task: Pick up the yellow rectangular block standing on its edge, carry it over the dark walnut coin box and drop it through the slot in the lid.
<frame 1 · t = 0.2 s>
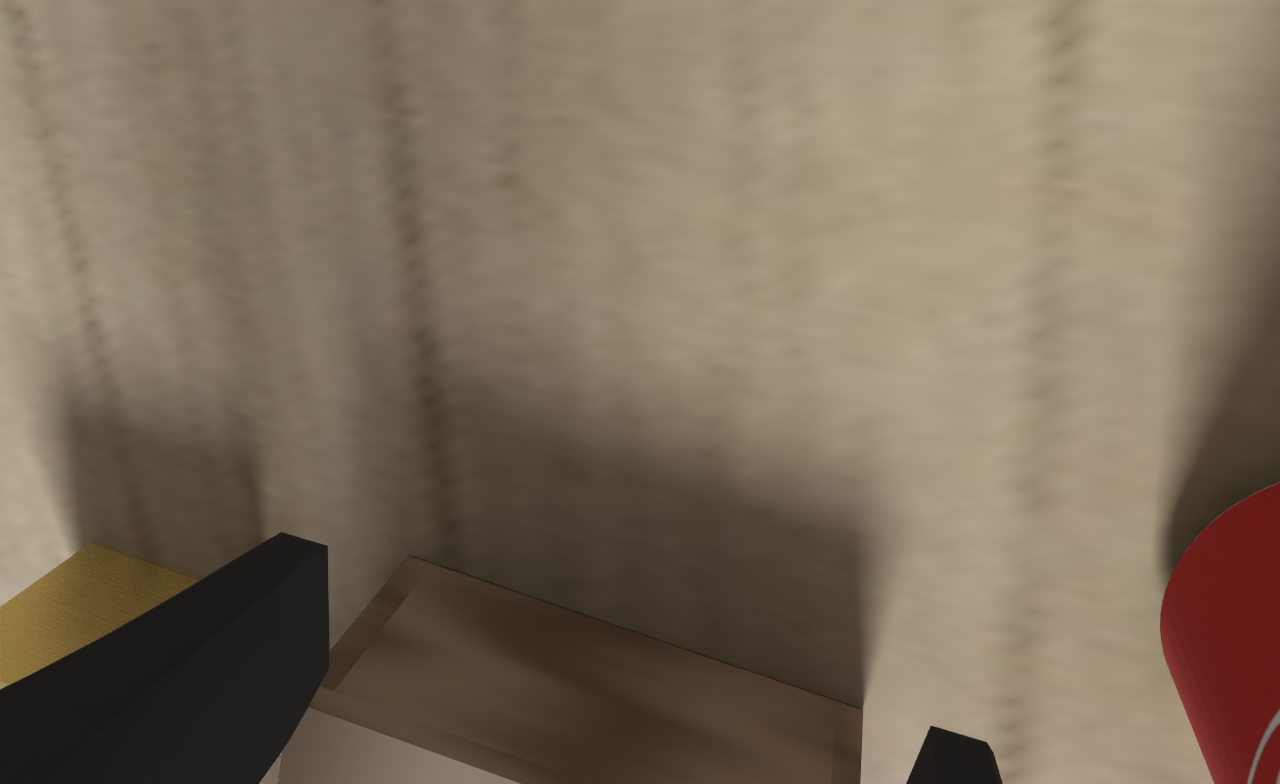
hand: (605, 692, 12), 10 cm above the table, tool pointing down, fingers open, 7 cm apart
coin box: (588, 776, 26), on the table
yellow rectangular block: (178, 604, 27), on the table
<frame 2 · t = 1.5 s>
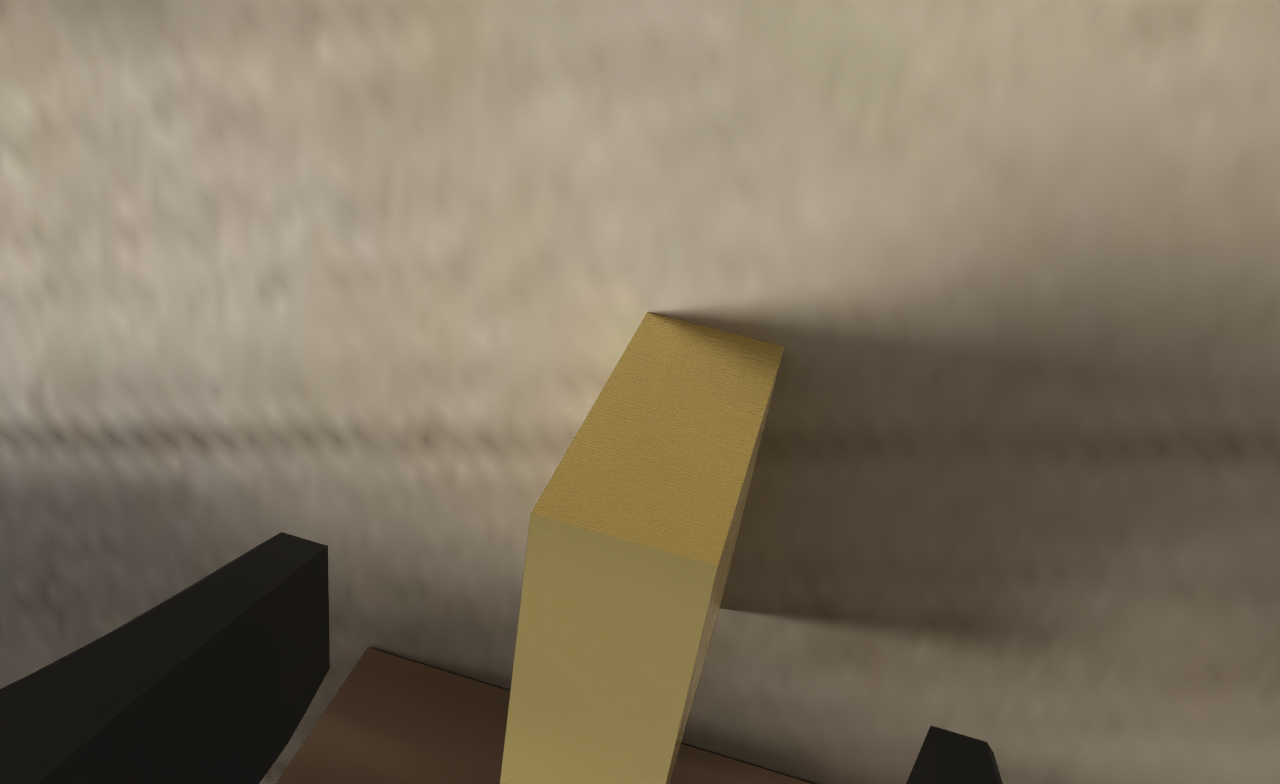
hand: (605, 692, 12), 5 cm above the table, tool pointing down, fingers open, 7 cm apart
yellow rectangular block: (686, 469, 16), on the table
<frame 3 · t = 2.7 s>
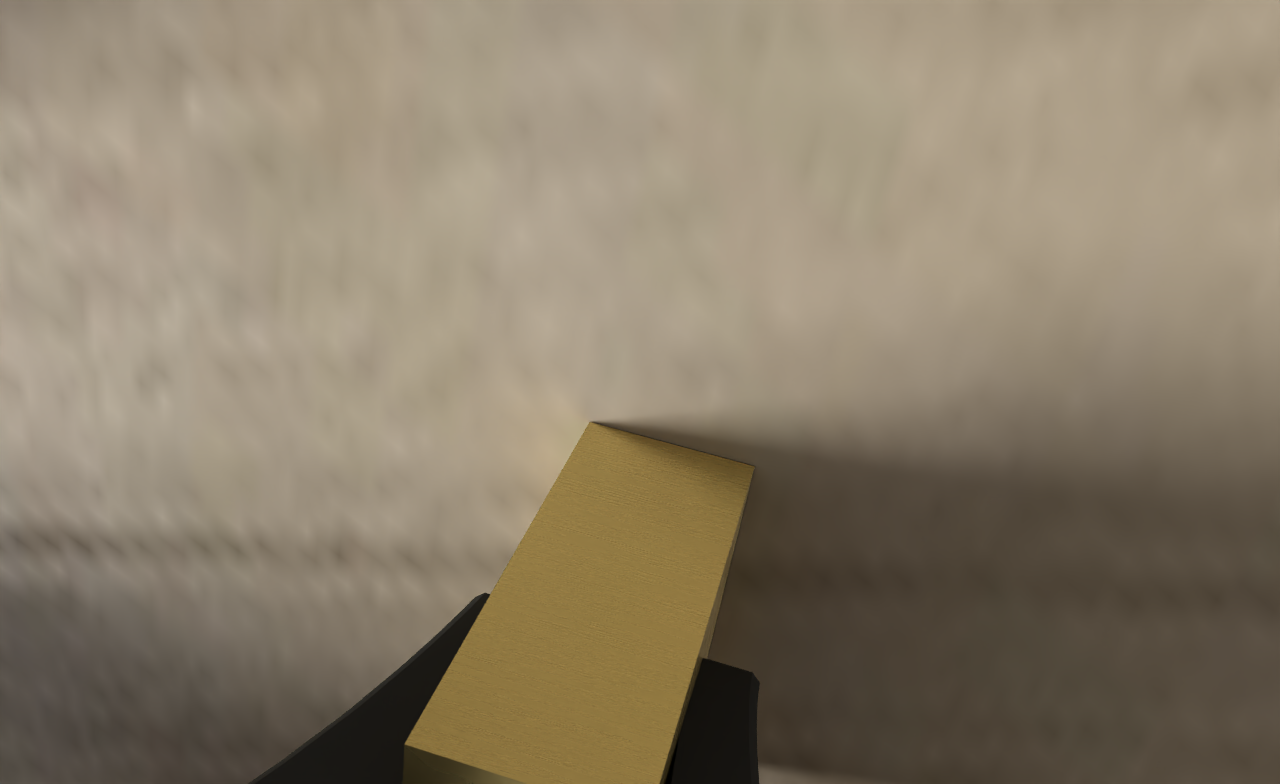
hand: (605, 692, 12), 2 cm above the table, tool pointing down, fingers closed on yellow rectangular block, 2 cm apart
yellow rectangular block: (640, 601, 14), on the table, touching gripper
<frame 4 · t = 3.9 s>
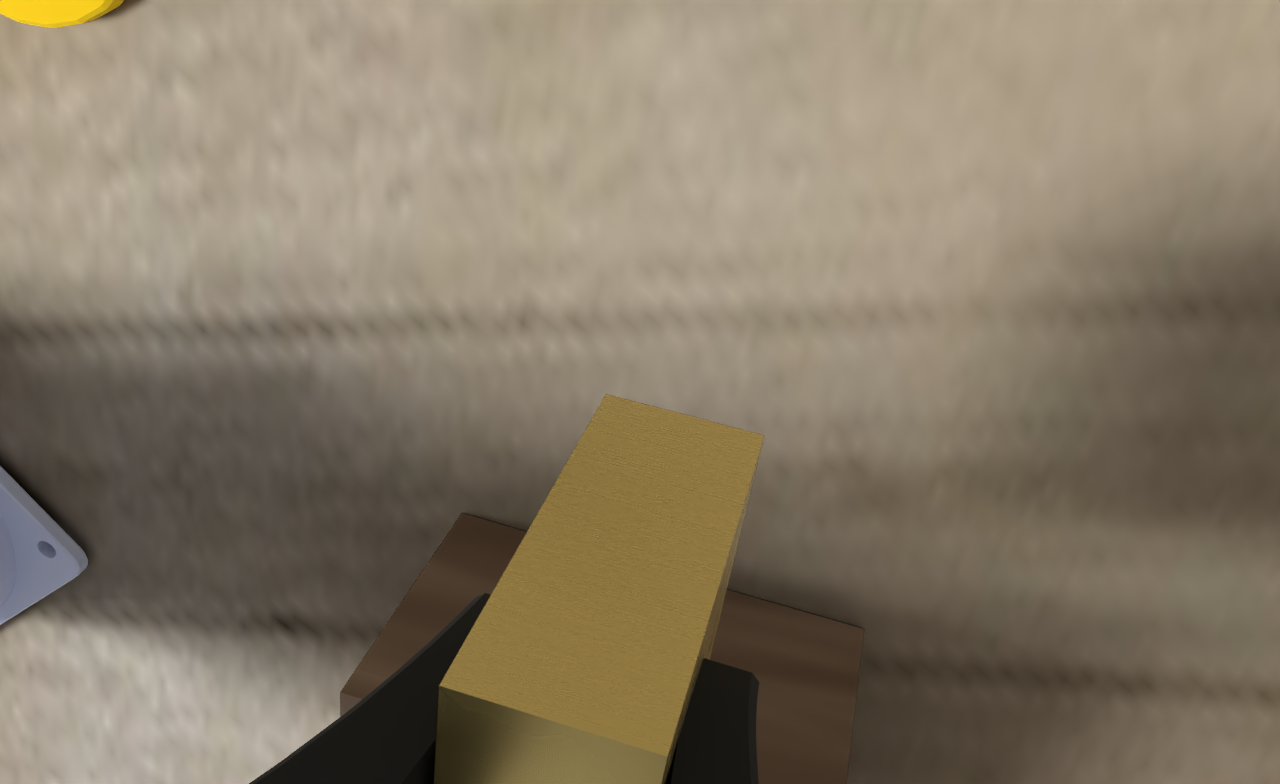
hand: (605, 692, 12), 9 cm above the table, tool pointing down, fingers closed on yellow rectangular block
coin box: (623, 740, 26), on the table
yellow rectangular block: (654, 568, 14), point 7 cm above the table, touching gripper
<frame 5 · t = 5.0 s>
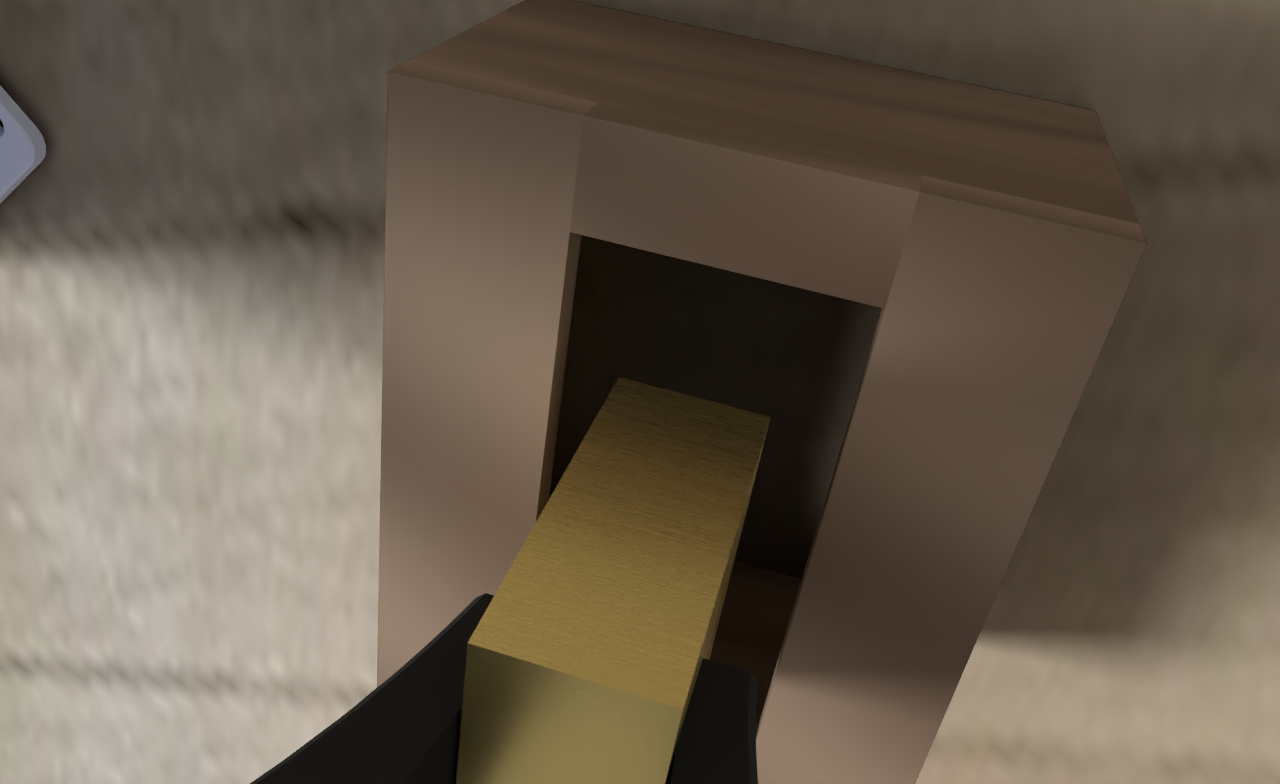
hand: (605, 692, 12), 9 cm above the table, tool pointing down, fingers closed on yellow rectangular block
coin box: (740, 348, 20), on the table
yellow rectangular block: (663, 546, 15), point 6 cm above the table, touching gripper
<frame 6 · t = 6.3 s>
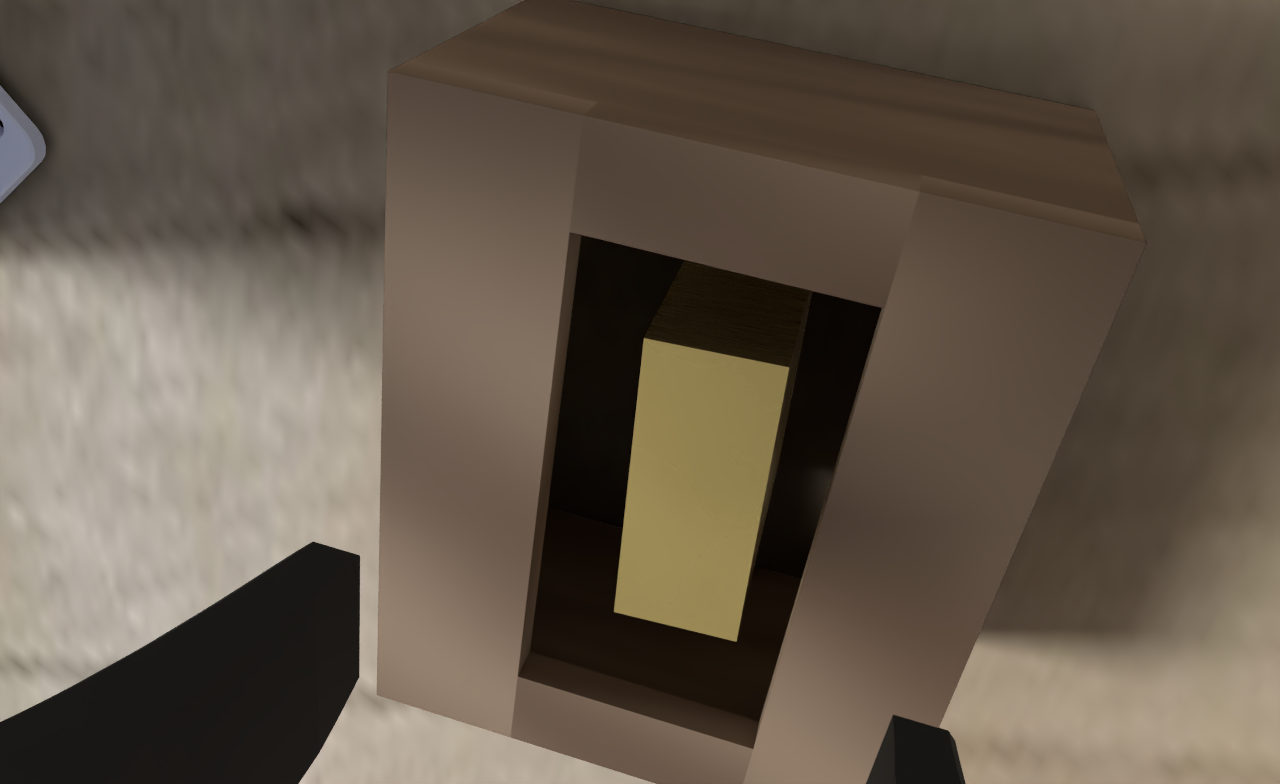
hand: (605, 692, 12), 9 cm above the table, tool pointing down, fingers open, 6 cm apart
coin box: (739, 347, 20), on the table
yellow rectangular block: (746, 346, 20), resting in coin box
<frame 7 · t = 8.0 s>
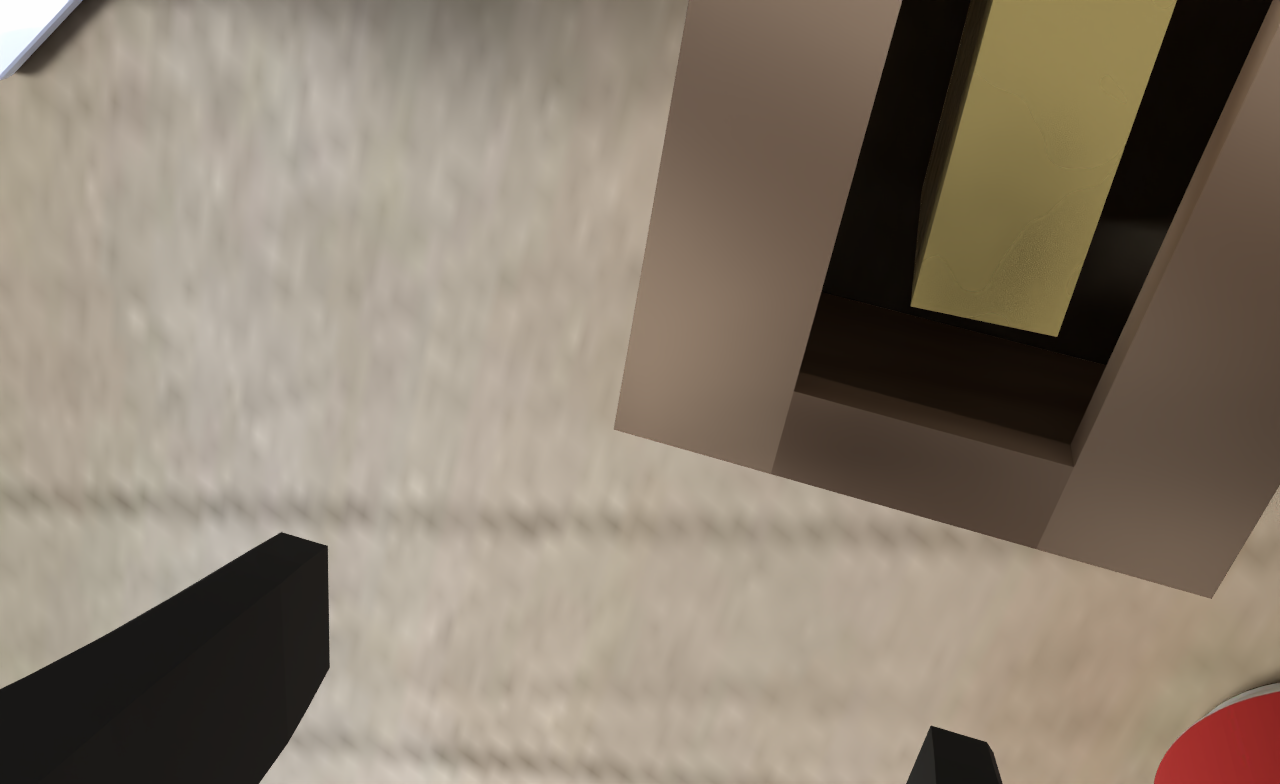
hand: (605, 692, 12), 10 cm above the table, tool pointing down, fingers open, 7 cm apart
coin box: (1012, 59, 18), on the table
yellow rectangular block: (1019, 58, 18), resting in coin box
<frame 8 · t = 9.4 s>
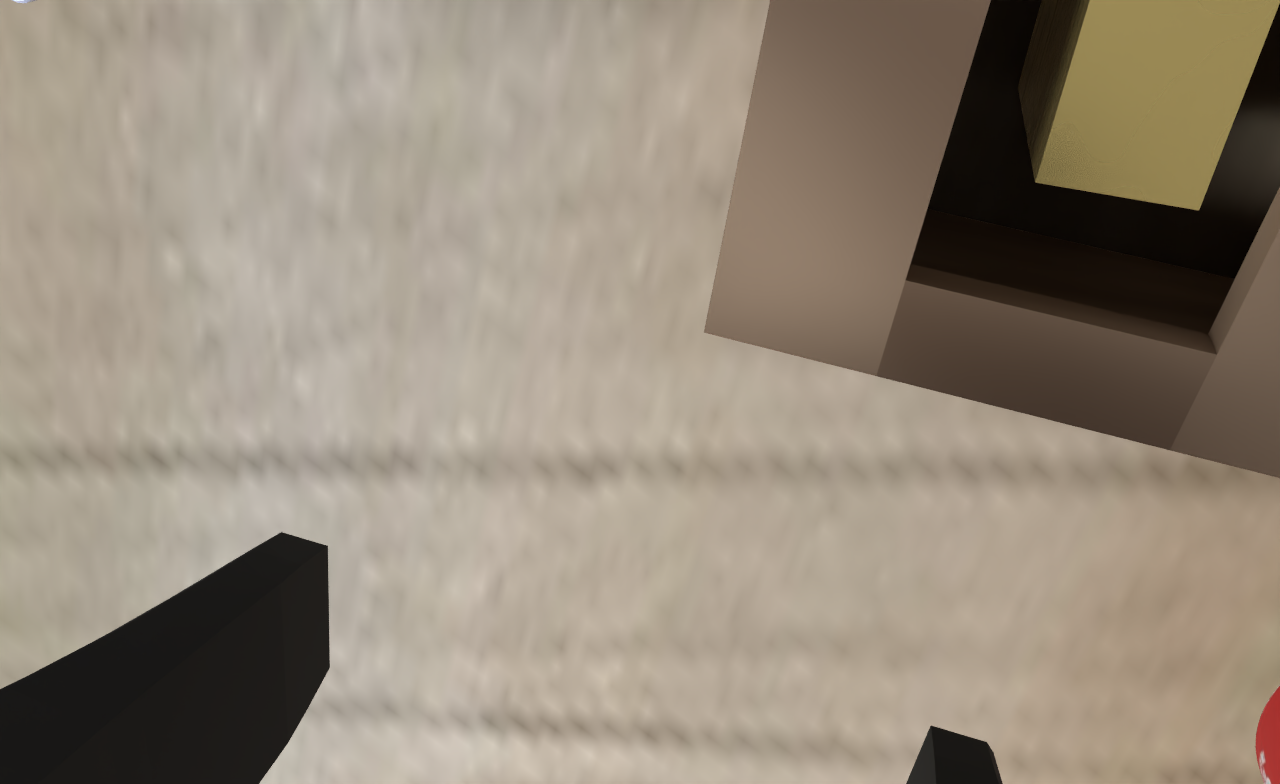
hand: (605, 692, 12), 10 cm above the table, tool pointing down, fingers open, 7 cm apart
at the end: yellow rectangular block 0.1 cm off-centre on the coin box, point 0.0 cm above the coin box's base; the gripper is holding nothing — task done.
